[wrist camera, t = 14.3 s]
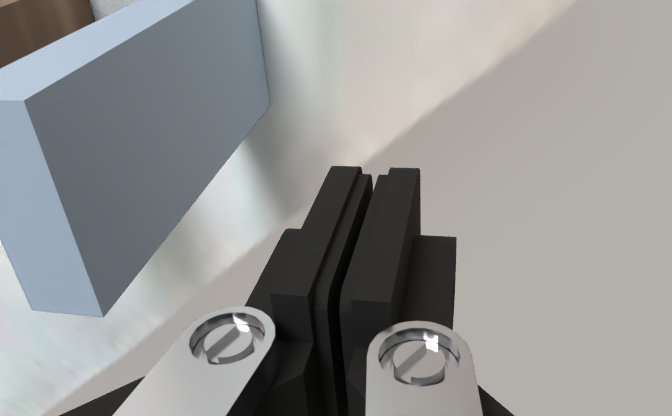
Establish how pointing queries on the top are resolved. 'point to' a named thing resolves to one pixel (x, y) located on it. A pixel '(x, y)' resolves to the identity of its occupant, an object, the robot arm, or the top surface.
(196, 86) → the domino
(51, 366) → the top surface
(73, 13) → the domino
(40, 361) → the top surface
